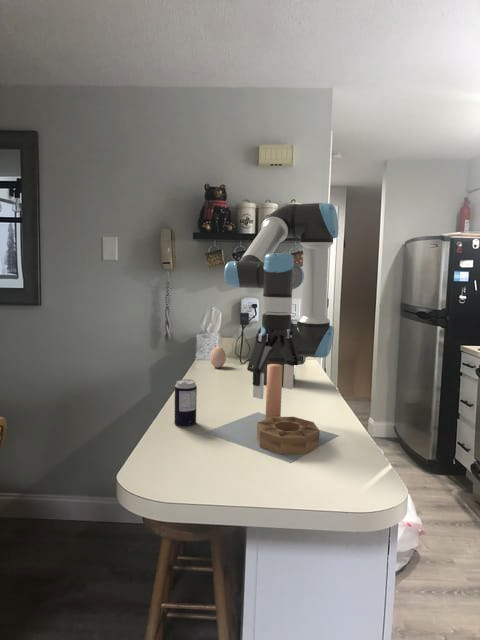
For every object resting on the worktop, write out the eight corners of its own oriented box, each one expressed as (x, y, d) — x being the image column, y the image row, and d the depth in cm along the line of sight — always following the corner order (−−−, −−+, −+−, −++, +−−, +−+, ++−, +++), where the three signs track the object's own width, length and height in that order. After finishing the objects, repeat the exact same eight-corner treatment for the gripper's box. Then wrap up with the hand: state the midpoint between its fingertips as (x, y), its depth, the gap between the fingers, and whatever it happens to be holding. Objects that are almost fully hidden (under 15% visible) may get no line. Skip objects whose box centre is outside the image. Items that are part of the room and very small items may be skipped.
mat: (257, 414, 129) (257, 412, 129) (338, 437, 113) (339, 435, 113) (204, 434, 113) (204, 432, 112) (290, 465, 96) (290, 463, 96)
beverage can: (199, 423, 120) (200, 380, 119) (190, 430, 115) (191, 385, 113) (180, 421, 122) (180, 378, 121) (170, 427, 117) (171, 382, 115)
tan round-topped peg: (271, 420, 123) (273, 363, 121) (283, 423, 120) (285, 365, 118) (262, 424, 119) (264, 365, 118) (274, 427, 117) (276, 367, 115)
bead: (279, 427, 117) (280, 412, 117) (327, 442, 108) (328, 426, 108) (246, 442, 106) (246, 426, 106) (295, 460, 97) (296, 442, 97)
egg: (227, 366, 190) (227, 345, 189) (223, 369, 184) (223, 348, 183) (212, 365, 192) (212, 344, 191) (208, 368, 185) (208, 347, 184)
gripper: (291, 310, 128) (288, 382, 130) (234, 314, 109) (232, 399, 111) (314, 312, 123) (310, 387, 126) (259, 317, 104) (255, 405, 107)
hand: (273, 393), depth 118 cm, fingers open, 13 cm apart
